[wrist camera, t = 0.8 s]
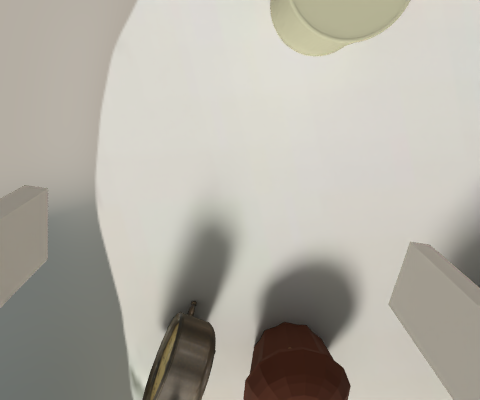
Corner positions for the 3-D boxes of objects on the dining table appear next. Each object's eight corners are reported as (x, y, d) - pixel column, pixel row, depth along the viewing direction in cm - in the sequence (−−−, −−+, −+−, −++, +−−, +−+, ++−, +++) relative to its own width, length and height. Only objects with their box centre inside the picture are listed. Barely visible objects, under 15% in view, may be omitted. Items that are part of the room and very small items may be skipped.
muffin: (249, 391, 49) (251, 465, 40) (236, 320, 46) (235, 381, 37) (339, 381, 49) (363, 453, 39) (332, 308, 46) (356, 367, 36)
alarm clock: (186, 288, 45) (156, 395, 29) (226, 304, 45) (219, 418, 30) (153, 356, 48) (110, 487, 32) (191, 371, 48) (168, 506, 33)
